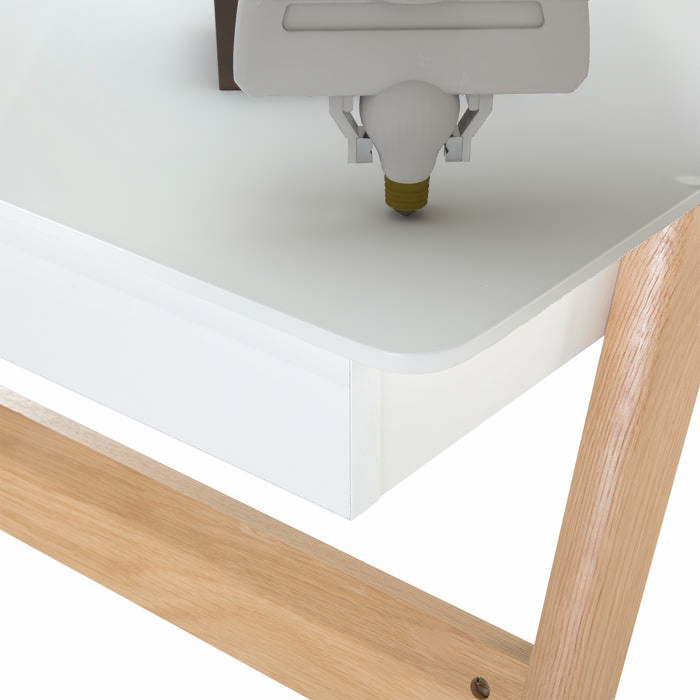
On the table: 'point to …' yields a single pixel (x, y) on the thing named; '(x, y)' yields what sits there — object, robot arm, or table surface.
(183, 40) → the table surface
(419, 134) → the light bulb
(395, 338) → the table surface
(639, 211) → the table surface
